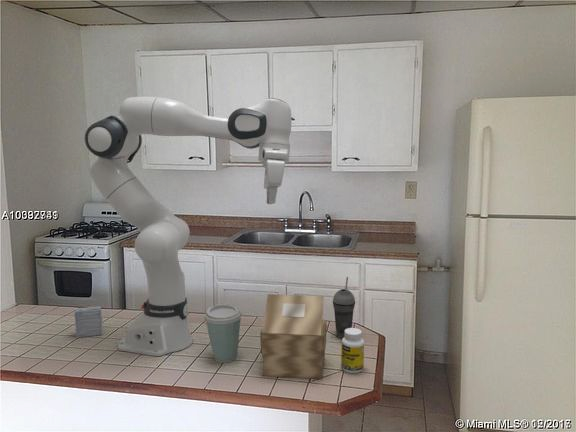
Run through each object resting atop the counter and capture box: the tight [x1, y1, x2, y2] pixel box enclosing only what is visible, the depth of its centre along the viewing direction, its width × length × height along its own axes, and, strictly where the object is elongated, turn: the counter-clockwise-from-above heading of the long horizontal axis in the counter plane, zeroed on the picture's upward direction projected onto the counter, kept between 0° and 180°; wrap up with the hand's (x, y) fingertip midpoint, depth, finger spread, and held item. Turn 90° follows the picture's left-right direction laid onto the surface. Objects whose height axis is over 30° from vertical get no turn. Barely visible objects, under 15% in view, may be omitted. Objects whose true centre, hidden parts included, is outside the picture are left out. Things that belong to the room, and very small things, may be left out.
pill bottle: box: [340, 327, 365, 374], centre depth 133 cm, size 6×6×11 cm
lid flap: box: [261, 293, 324, 336], centre depth 131 cm, size 16×12×1 cm
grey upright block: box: [74, 305, 104, 339], centre depth 159 cm, size 8×4×9 cm, turn 108°
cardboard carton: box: [259, 318, 327, 380], centre depth 135 cm, size 17×12×12 cm
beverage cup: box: [332, 276, 356, 340], centre depth 155 cm, size 7×7×20 cm
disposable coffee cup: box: [204, 303, 242, 364], centre depth 140 cm, size 11×11×15 cm
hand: (270, 203), depth 140 cm, fingers open, 8 cm apart
